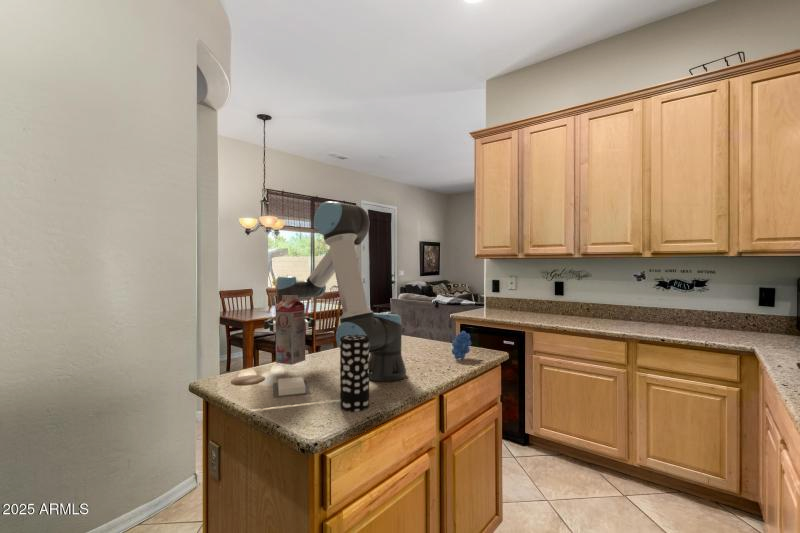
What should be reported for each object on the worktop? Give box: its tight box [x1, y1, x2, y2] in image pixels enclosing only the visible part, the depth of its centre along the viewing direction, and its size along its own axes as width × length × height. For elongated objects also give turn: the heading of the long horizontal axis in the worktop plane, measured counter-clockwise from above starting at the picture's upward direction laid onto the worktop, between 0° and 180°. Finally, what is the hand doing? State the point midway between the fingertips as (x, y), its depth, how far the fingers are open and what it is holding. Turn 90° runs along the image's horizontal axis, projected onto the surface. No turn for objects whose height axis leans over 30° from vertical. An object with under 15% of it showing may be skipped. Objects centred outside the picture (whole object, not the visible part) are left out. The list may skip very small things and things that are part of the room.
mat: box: [272, 379, 311, 399], centre depth 125 cm, size 15×11×1 cm
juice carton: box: [274, 295, 306, 366], centre depth 128 cm, size 7×7×22 cm
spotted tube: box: [339, 335, 370, 413], centre depth 111 cm, size 8×8×20 cm
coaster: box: [230, 374, 266, 386], centre depth 134 cm, size 11×11×1 cm
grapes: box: [451, 330, 472, 360], centre depth 168 cm, size 12×7×12 cm, turn 128°
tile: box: [277, 376, 305, 396], centre depth 124 cm, size 2×8×11 cm
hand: (291, 327), depth 123 cm, fingers closed on juice carton, 9 cm apart
